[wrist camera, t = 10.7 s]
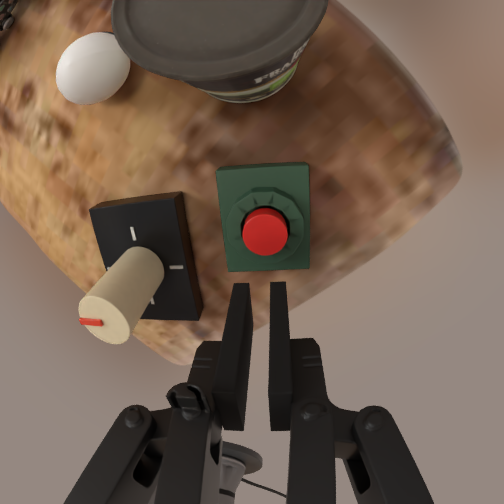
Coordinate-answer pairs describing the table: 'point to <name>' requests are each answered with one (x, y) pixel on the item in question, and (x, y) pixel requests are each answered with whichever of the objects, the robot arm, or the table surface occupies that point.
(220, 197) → the button box
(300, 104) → the table surface
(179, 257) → the panel
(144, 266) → the dial
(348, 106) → the table surface
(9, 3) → the game controller
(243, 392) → the robot arm
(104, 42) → the white sphere
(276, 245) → the red button
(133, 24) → the coffee can
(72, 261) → the table surface
